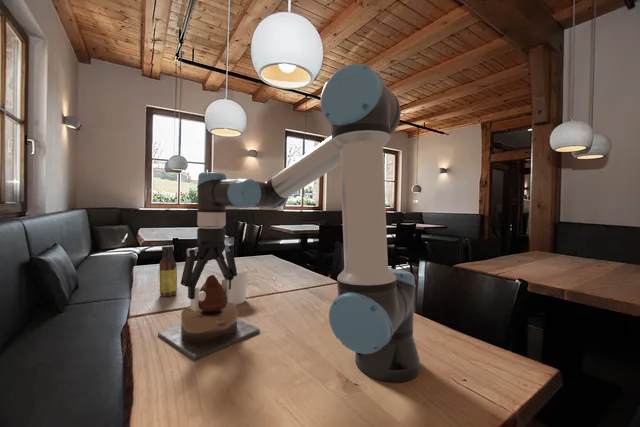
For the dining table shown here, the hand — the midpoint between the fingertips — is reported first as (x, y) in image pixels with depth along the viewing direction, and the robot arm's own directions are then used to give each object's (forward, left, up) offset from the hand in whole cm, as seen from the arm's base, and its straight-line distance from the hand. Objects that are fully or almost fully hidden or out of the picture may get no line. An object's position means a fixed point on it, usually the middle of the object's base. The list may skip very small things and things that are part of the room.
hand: (210, 305), depth 82 cm
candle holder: (+18, -21, -9) cm, 29 cm away
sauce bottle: (+44, -8, -9) cm, 46 cm away
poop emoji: (0, 0, -1) cm, 1 cm away
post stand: (0, 0, -8) cm, 8 cm away
